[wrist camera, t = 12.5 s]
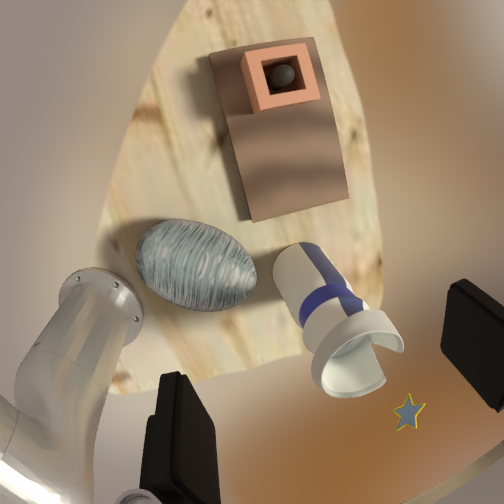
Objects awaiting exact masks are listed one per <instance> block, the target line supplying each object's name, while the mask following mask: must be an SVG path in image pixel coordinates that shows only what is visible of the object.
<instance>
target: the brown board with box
mask: <svg viewBox="0 0 504 504" xmlns="http://www.w3.org/2000/svg"><path fill="white" fill-rule="evenodd" d="M300 43H306V46H307V50H308V53H309V57H310V60H311V64H312V67H313V71H314V75H315V78H316V82H317V86H318V90H319V94H320V98H321V99H319V100H315V101H312V102H309V103H306V104H300V105H295V106H289V107H284V108H279V109H274V110H270V111H265V112H260V113H256V114H253V110H252V106H251V103H250V99H249V95H248V91H247V88H246V84H245V80H244V77H243V73H242V69H241V66H240V63H241V60H242V58H243V55H244V53H245V52H248V51H253V50H259V49H264V48H271V47H277V46H284V45H292V44H300ZM209 59H210V62H211V66H212V70H213V74H214V78H215V81H216V85H217V89H218V93H219V96H220V100H221V104H222V108H223V112H224V116H225V119H226V123H227V127H228V131H229V135H230V139H231V142H232V146H233V150H234V154H235V158H236V162H237V166H238V169H239V173H240V177H241V181H242V185H243V189H244V193H245V197H246V201H247V204H248V208H249V212H250V216H251V220H252V222H253V223H255V222H259V221H263V220H266V219H270V218H274V217H278V216H281V215H285V214H289V213H293V212H297V211H301V210H304V209H308V208H312V207H316V206H320V205H324V204H328V203H332V202H336V201H340V200H344V199H348V198H349V194H348V188H347V181H346V175H345V169H344V164H343V158H342V153H341V148H340V142H339V137H338V132H337V128H336V123H335V118H334V114H333V109H332V105H331V101H330V96H329V92H328V88H327V84H326V80H325V76H324V72H323V69H322V65H321V61H320V58H319V54H318V51H317V47H316V44H315V40H314V37H307V38H297V39H288V40H280V41H273V42H266V43H260V44H254V45H248V46H243V47H237V48H232V49H228V50H223V51H219V52H214V53H210V54H209ZM263 72H264V75H265V79H266V83H267V86H268V90H269V94H270V95H275V94H280V93H286V92H291V91H292V89H291V85H290V82H292V81H293V79H294V77H295V72H294V70H293V68H292V67H290V66H289V65H279V66H277V67H275V68H269V69H263Z"/></svg>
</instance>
